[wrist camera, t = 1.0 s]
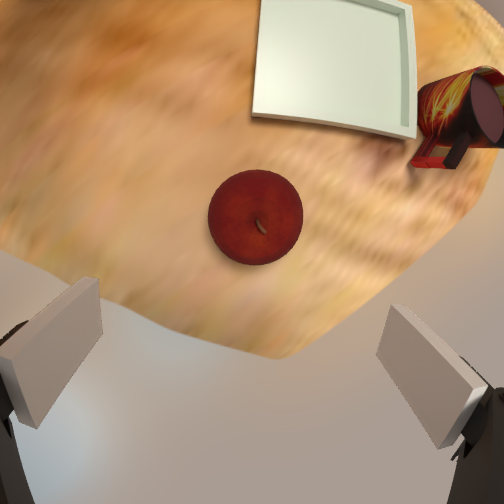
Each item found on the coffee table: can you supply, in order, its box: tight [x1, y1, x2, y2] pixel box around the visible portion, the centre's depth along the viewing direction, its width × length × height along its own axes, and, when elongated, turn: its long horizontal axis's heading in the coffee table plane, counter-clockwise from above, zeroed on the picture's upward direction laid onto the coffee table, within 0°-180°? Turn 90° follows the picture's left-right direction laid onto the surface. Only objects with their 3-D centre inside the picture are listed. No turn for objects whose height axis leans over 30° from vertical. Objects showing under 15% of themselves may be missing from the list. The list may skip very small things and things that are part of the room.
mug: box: [410, 66, 504, 169], centre depth 29 cm, size 10×14×12 cm
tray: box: [251, 0, 417, 140], centre depth 31 cm, size 20×20×3 cm
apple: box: [208, 170, 303, 265], centre depth 32 cm, size 10×10×10 cm
